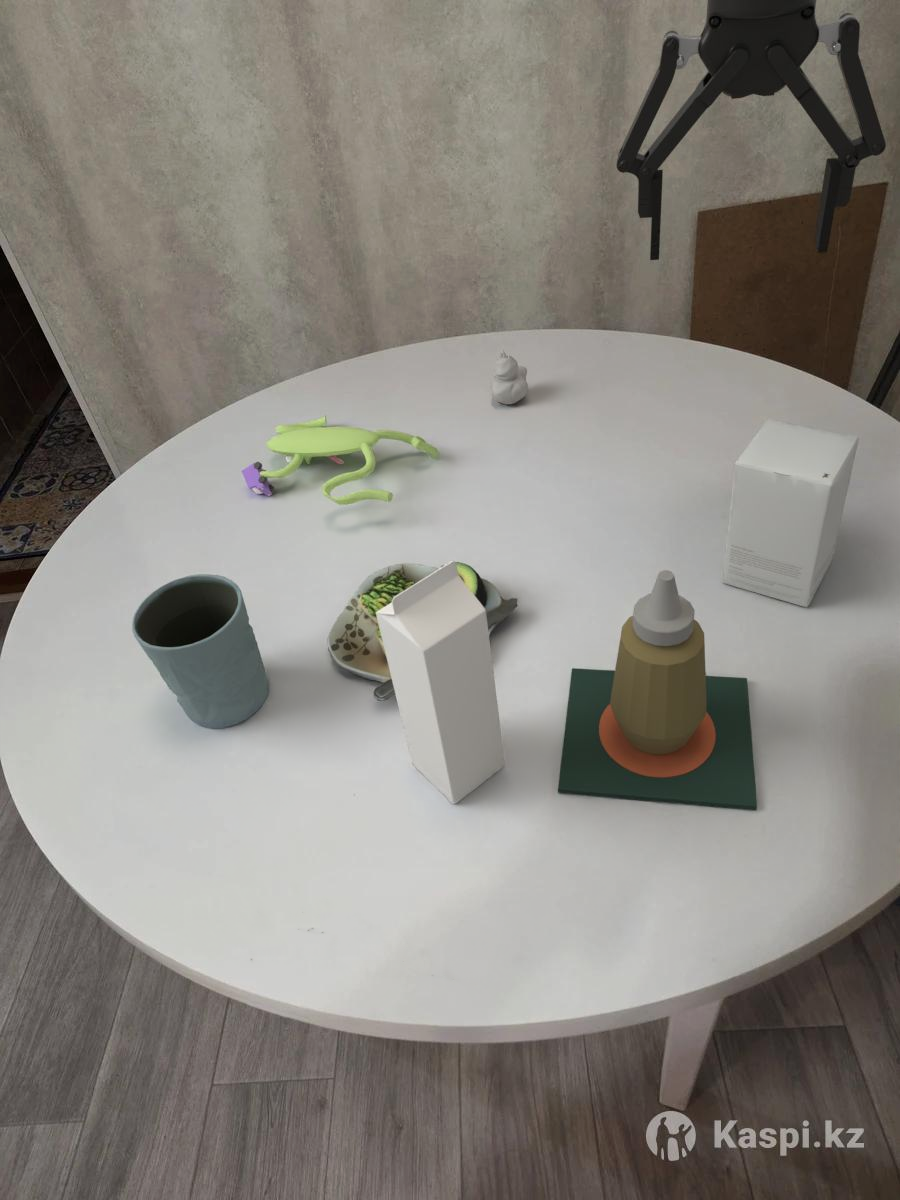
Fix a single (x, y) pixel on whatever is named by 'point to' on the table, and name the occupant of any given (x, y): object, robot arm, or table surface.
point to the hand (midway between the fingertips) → (735, 250)
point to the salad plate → (357, 626)
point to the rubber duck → (508, 380)
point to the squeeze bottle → (660, 671)
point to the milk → (444, 681)
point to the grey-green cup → (204, 648)
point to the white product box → (787, 510)
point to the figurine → (327, 455)
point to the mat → (687, 776)
